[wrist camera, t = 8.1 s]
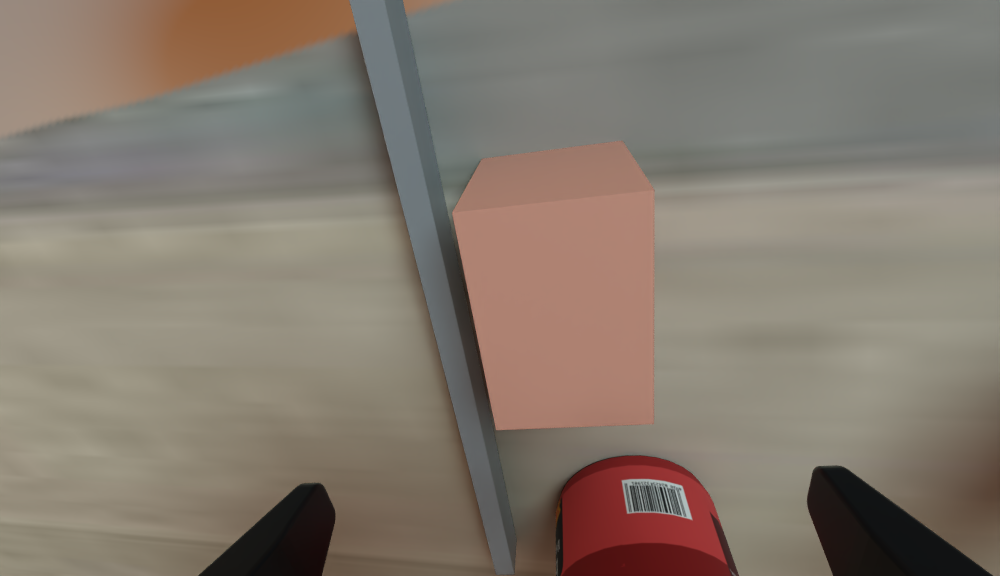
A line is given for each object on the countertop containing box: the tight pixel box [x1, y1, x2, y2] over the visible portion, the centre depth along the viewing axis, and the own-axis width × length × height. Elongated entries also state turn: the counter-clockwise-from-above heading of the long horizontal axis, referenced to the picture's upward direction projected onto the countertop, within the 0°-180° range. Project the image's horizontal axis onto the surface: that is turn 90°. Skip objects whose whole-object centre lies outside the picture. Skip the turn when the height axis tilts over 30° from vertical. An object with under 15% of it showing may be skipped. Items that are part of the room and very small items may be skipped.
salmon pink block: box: [452, 141, 654, 430], centre depth 16 cm, size 5×8×6 cm
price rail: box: [349, 0, 517, 575], centre depth 19 cm, size 1×32×2 cm, turn 9°
